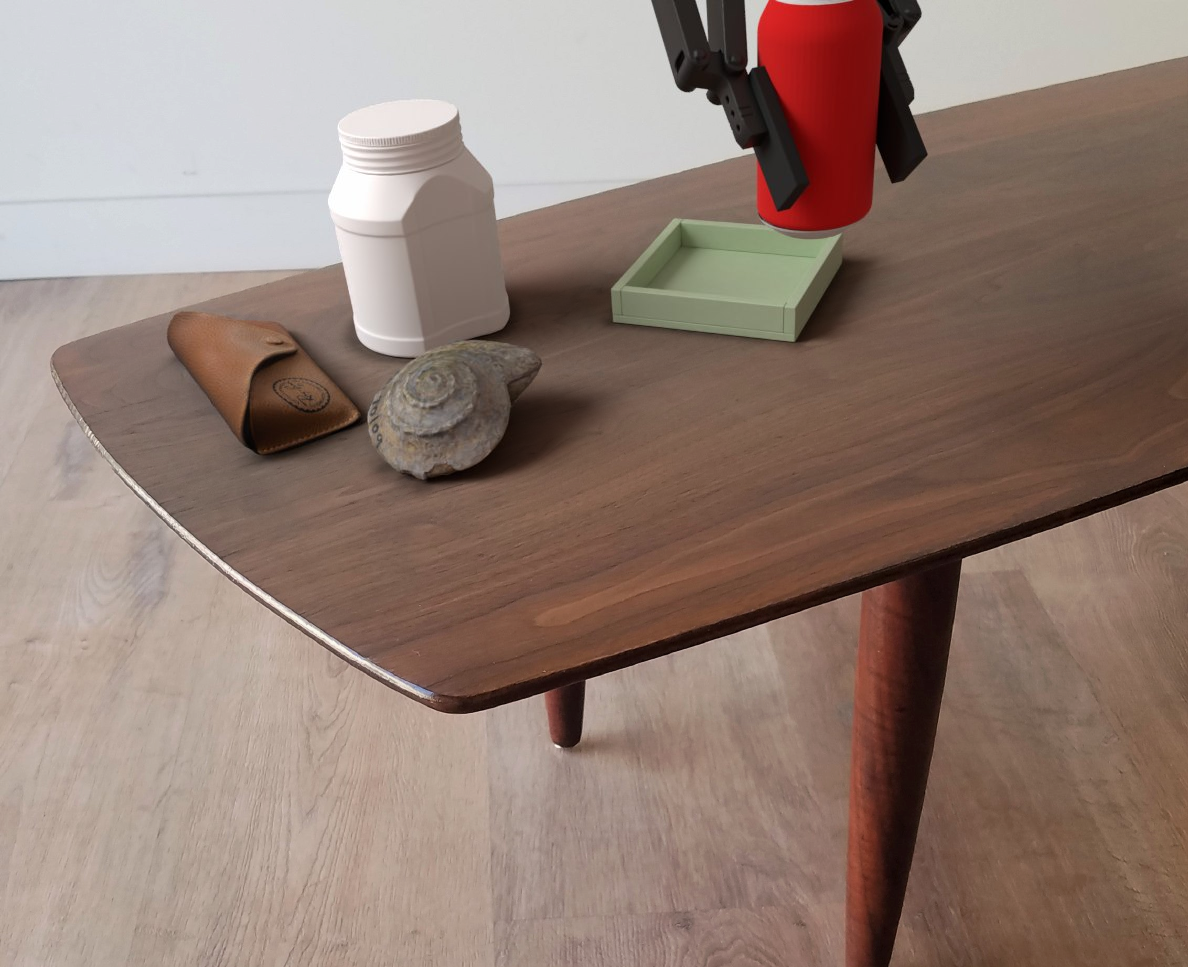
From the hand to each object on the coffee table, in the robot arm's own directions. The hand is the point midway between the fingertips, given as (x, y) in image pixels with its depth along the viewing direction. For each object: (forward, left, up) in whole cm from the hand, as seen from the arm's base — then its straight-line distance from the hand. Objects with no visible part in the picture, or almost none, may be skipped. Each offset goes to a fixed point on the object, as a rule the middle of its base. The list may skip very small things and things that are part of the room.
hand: (852, 182), depth 63 cm
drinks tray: (+13, -20, -16) cm, 29 cm away
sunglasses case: (+40, +2, -17) cm, 43 cm away
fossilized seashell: (+23, +4, -17) cm, 29 cm away
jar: (+33, -10, -17) cm, 38 cm away
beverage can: (+3, -3, -4) cm, 5 cm away
